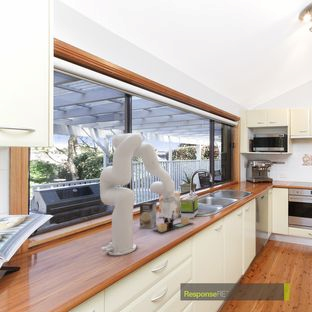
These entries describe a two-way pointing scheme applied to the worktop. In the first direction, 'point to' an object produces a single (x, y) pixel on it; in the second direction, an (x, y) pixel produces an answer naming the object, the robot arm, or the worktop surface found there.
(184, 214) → the tea box
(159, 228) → the word mat
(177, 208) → the coffeecake box
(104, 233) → the worktop surface
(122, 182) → the robot arm
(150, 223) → the coffee box
